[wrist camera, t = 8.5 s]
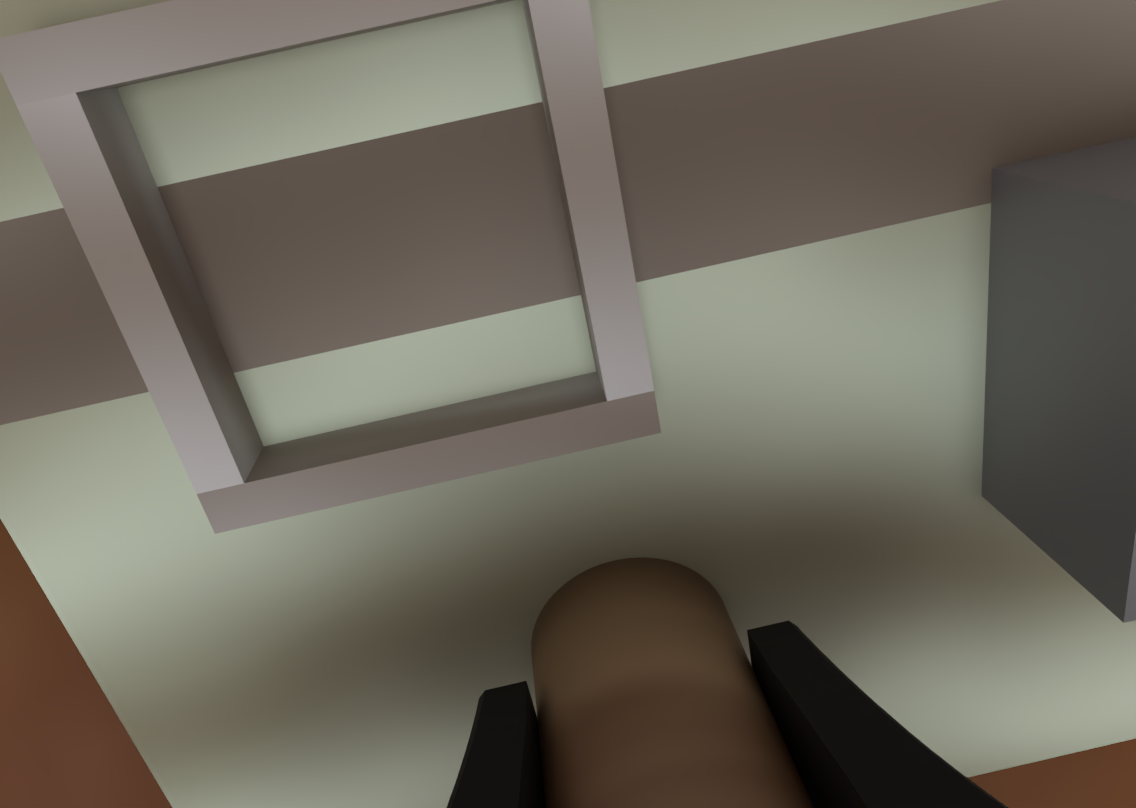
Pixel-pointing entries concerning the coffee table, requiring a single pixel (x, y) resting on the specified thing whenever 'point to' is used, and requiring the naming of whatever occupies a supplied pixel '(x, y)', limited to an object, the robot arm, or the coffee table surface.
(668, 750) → the peg
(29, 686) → the coffee table surface
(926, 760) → the robot arm
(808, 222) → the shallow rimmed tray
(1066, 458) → the grey box with panel
